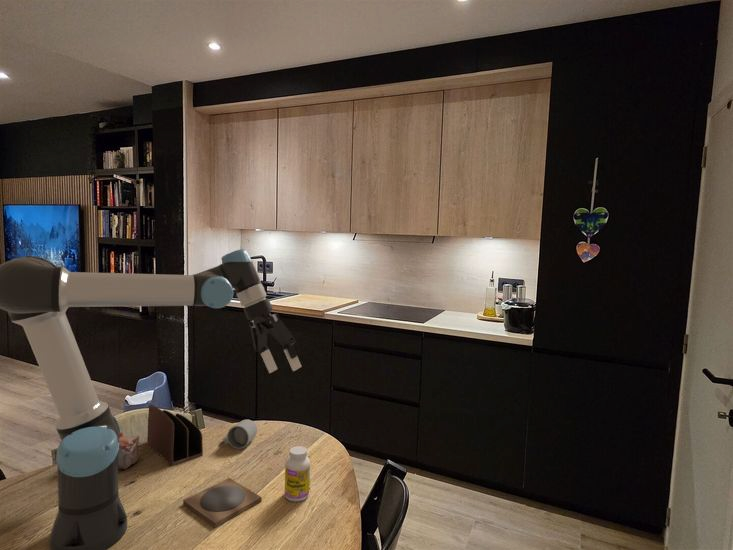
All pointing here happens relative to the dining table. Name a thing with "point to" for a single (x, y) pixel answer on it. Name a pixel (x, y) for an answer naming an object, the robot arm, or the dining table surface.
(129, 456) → the food item
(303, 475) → the supplement bottle
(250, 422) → the ceramic mug
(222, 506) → the dock plate
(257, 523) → the dining table surface
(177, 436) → the letter holder
